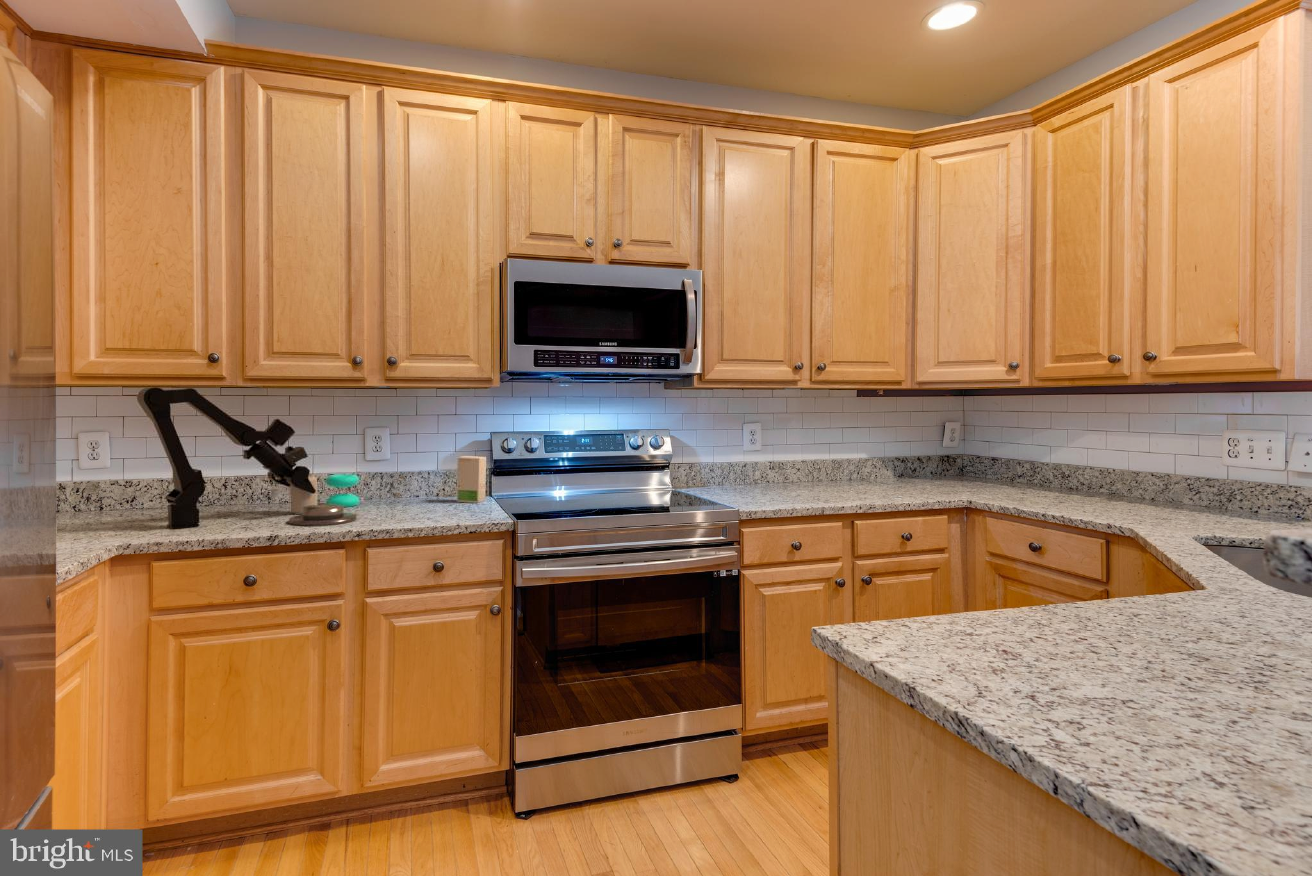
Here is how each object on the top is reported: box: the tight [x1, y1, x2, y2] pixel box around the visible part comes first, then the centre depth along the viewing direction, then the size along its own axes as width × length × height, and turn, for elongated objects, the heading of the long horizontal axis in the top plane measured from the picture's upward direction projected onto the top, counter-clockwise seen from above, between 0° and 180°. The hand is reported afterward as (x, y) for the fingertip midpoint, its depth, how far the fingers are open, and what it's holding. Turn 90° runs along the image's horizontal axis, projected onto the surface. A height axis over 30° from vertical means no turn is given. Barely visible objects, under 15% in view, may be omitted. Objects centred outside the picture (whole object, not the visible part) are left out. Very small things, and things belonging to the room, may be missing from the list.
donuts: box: [325, 473, 360, 508], centre depth 246 cm, size 10×10×10 cm
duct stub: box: [288, 503, 357, 527], centre depth 218 cm, size 18×18×4 cm
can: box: [289, 473, 318, 515], centre depth 231 cm, size 8×8×12 cm
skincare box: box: [456, 455, 487, 504], centre depth 257 cm, size 8×7×16 cm
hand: (308, 491), depth 232 cm, fingers open, 9 cm apart
